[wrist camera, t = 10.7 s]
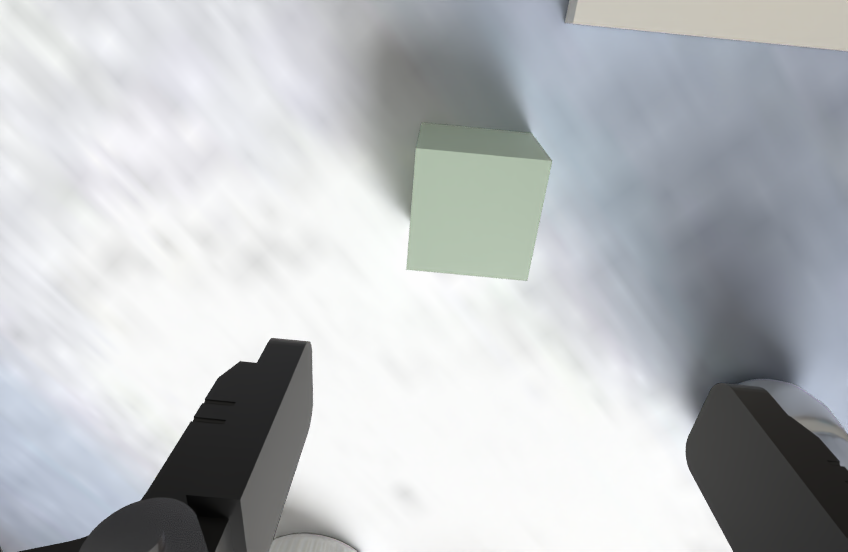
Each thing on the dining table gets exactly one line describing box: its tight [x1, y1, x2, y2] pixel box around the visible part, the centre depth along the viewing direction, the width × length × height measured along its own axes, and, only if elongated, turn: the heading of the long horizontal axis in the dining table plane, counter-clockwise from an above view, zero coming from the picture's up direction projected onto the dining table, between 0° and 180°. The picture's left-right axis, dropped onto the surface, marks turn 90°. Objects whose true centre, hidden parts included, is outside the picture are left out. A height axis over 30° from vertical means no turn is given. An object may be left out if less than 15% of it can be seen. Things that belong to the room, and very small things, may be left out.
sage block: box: [406, 123, 552, 281], centre depth 21 cm, size 5×5×5 cm
